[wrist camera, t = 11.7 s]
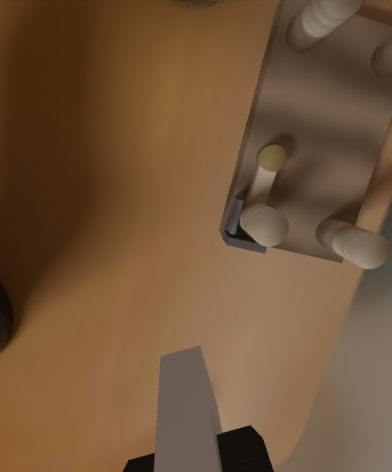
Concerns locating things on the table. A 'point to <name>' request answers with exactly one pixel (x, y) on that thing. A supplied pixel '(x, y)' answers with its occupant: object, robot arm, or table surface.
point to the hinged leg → (264, 200)
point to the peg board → (318, 129)
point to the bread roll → (197, 2)
